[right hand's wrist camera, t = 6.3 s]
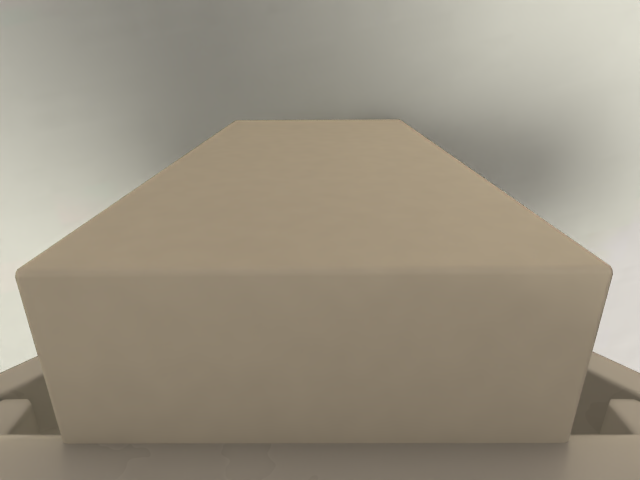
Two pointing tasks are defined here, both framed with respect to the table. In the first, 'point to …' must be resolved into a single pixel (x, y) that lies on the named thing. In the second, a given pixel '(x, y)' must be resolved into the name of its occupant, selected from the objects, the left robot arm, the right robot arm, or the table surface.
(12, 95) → the table surface
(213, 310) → the box
